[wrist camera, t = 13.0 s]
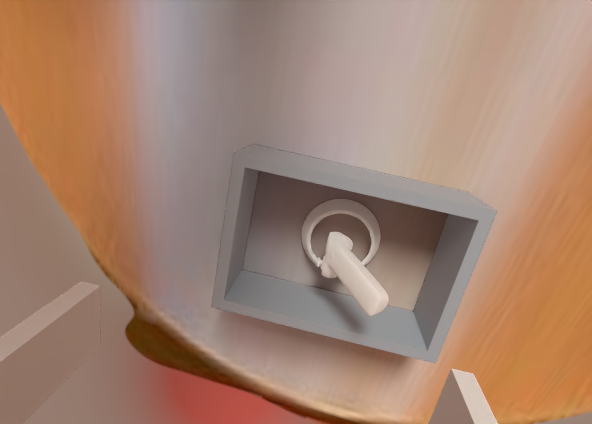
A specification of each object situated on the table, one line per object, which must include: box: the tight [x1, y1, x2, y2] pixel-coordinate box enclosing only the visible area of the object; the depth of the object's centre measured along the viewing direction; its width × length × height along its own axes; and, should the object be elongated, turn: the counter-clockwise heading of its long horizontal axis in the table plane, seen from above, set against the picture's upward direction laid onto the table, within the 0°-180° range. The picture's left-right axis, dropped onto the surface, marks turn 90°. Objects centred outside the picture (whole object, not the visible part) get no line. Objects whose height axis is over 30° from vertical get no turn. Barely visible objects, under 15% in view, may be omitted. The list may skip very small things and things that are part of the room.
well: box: [211, 144, 497, 364], centre depth 31 cm, size 14×20×6 cm
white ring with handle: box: [301, 199, 389, 316], centre depth 31 cm, size 8×12×7 cm
